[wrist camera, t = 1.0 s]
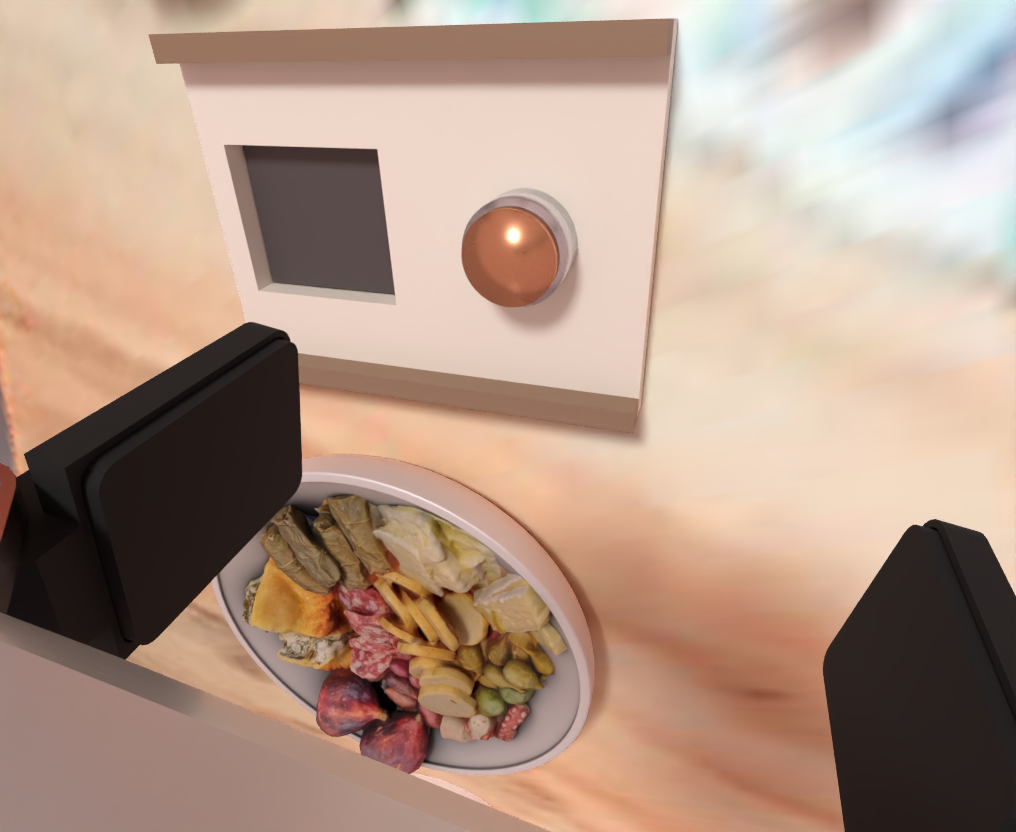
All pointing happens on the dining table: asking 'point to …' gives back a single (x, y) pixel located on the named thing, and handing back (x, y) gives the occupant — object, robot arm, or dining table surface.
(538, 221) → the puck
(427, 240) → the board
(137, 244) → the dining table surface
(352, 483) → the bowl
